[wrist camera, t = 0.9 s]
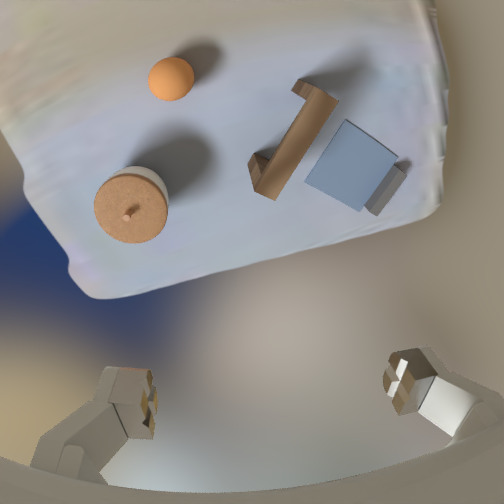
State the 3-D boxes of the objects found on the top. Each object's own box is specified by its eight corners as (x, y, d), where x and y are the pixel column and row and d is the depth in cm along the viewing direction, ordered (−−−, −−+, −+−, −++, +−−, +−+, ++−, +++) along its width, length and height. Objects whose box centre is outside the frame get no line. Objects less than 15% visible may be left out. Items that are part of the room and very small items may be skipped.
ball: (164, 50, 36) (156, 51, 31) (203, 66, 38) (201, 69, 33) (146, 88, 39) (136, 94, 34) (184, 103, 41) (179, 111, 36)
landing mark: (344, 119, 44) (345, 120, 44) (397, 157, 49) (398, 157, 48) (304, 181, 50) (304, 182, 50) (358, 211, 54) (359, 211, 54)
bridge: (247, 164, 47) (254, 191, 40) (298, 79, 40) (318, 88, 32) (264, 172, 49) (274, 200, 41) (315, 89, 41) (338, 101, 34)
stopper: (392, 164, 49) (399, 169, 47) (400, 169, 50) (407, 175, 48) (363, 204, 54) (369, 211, 52) (371, 209, 54) (377, 216, 52)
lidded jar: (180, 164, 46) (173, 191, 39) (165, 223, 52) (158, 257, 45) (113, 149, 43) (93, 173, 36) (105, 209, 49) (87, 241, 42)
